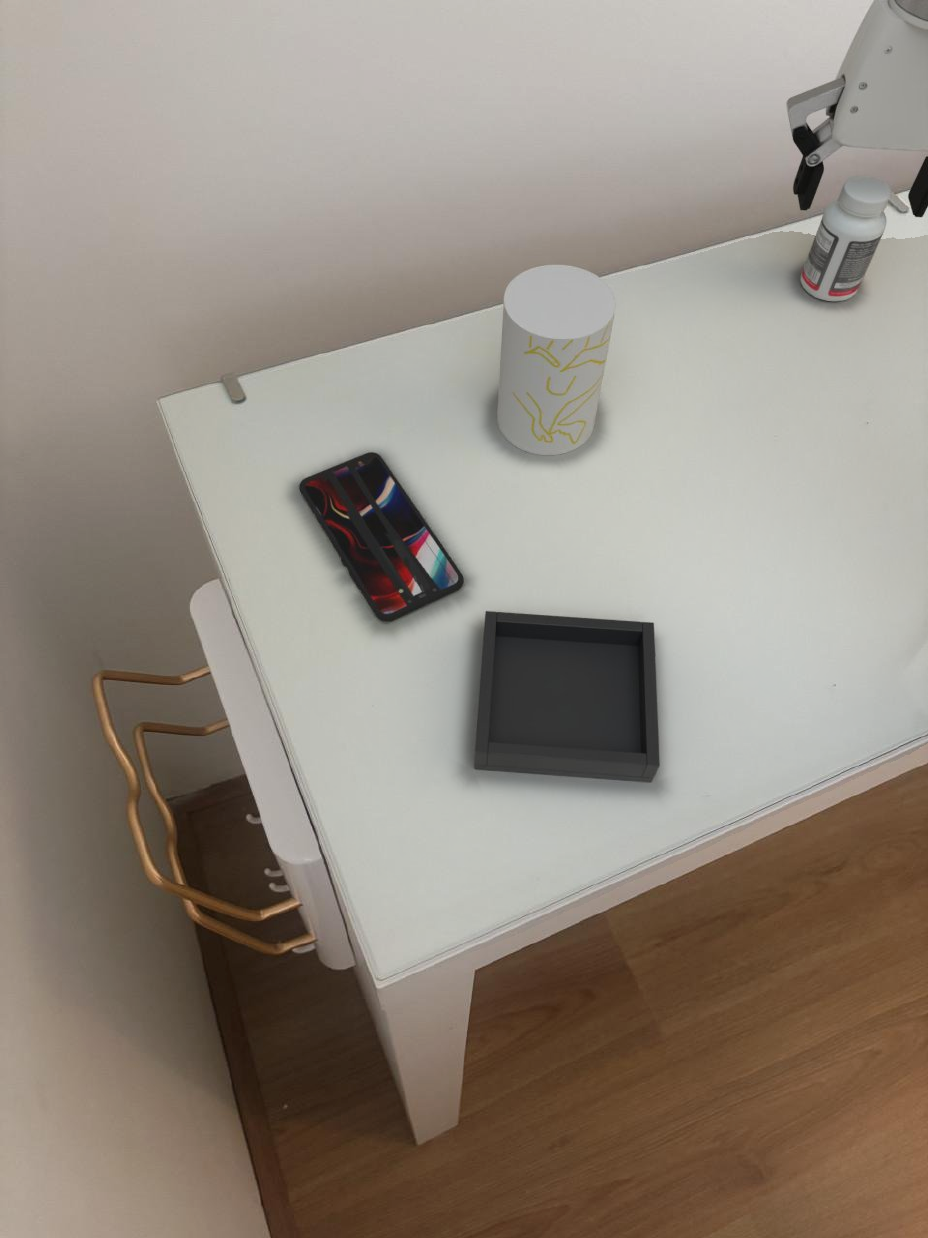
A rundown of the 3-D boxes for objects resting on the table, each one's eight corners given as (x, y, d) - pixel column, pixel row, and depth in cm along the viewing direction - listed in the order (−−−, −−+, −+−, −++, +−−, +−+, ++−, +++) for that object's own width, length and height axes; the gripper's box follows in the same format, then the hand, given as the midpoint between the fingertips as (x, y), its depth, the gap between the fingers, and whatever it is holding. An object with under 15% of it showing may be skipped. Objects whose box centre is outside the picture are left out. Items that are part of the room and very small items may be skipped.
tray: (646, 642, 65) (654, 622, 63) (651, 782, 60) (659, 766, 57) (484, 631, 66) (485, 610, 63) (474, 769, 60) (474, 752, 58)
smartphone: (376, 448, 74) (468, 582, 67) (376, 453, 74) (468, 587, 67) (294, 481, 72) (380, 623, 65) (295, 487, 72) (380, 628, 66)
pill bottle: (861, 275, 87) (905, 178, 79) (851, 309, 84) (894, 213, 76) (805, 260, 88) (842, 163, 80) (793, 294, 85) (829, 197, 77)
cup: (513, 463, 74) (523, 348, 64) (485, 393, 78) (490, 274, 68) (608, 444, 75) (632, 327, 65) (575, 376, 79) (593, 256, 69)
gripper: (1060, -34, 67) (950, 183, 81) (821, -47, 67) (754, 172, 82) (1089, 19, 63) (968, 237, 77) (834, 5, 63) (762, 225, 78)
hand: (858, 203), depth 80 cm, fingers open, 9 cm apart
